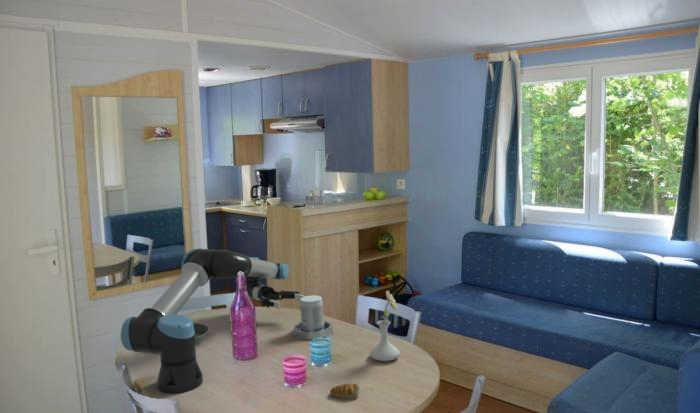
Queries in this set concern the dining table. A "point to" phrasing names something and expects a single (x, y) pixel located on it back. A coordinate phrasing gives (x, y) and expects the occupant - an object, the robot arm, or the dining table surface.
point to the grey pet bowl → (311, 335)
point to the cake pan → (200, 332)
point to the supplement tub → (312, 313)
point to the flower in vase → (385, 337)
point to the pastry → (346, 391)
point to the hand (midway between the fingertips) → (291, 302)
